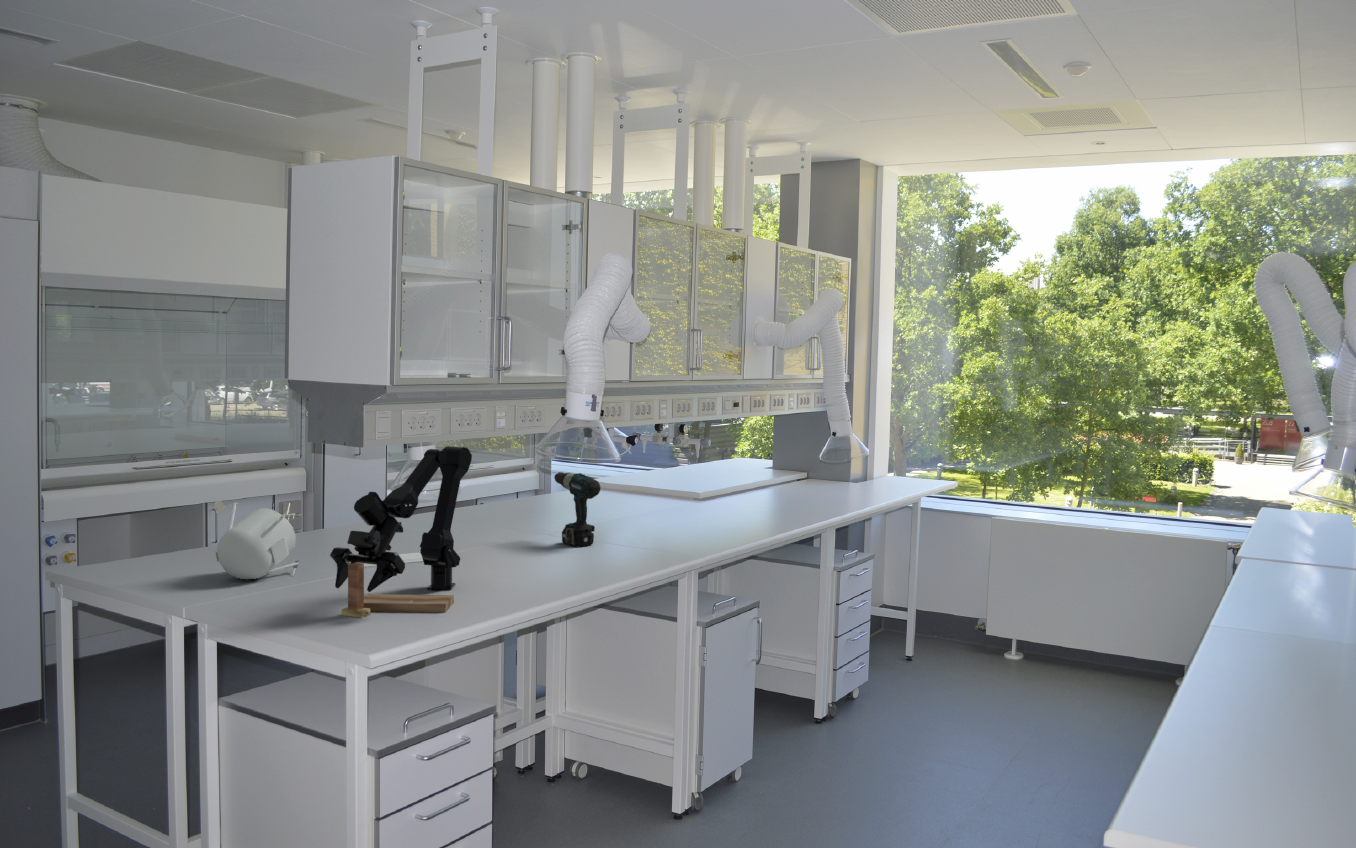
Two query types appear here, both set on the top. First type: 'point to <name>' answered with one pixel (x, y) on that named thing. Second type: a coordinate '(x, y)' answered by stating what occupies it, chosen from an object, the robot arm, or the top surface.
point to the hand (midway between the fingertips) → (352, 589)
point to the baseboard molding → (405, 559)
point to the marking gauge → (356, 592)
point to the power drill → (579, 507)
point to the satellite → (255, 543)
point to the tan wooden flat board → (408, 602)
